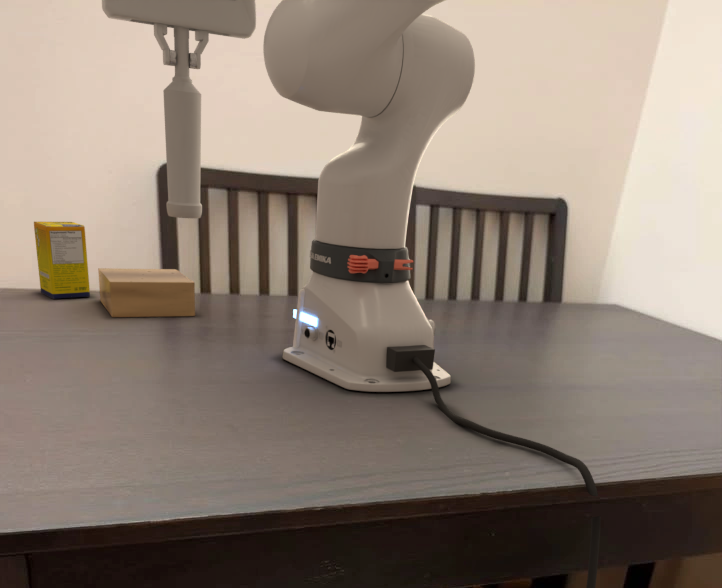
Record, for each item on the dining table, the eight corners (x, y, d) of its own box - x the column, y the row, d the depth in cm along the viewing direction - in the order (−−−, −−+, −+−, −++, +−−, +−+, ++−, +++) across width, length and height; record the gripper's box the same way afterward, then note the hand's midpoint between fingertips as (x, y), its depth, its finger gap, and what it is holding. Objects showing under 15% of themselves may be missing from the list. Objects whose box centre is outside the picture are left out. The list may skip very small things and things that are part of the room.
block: (195, 316, 110) (194, 282, 108) (112, 317, 105) (109, 281, 103) (177, 300, 119) (176, 269, 117) (100, 300, 114) (98, 268, 112)
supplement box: (76, 290, 120) (71, 221, 116) (90, 297, 116) (85, 225, 112) (39, 292, 116) (32, 220, 112) (52, 299, 112) (46, 225, 108)
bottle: (165, 213, 110) (160, 21, 100) (200, 216, 112) (198, 26, 102) (167, 217, 106) (162, 16, 96) (204, 219, 107) (202, 21, 97)
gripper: (99, -76, 88) (106, 54, 94) (261, -44, 97) (259, 75, 102) (93, -66, 93) (100, 58, 99) (247, -35, 102) (245, 77, 108)
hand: (182, 67), depth 101 cm, fingers closed on bottle, 2 cm apart
